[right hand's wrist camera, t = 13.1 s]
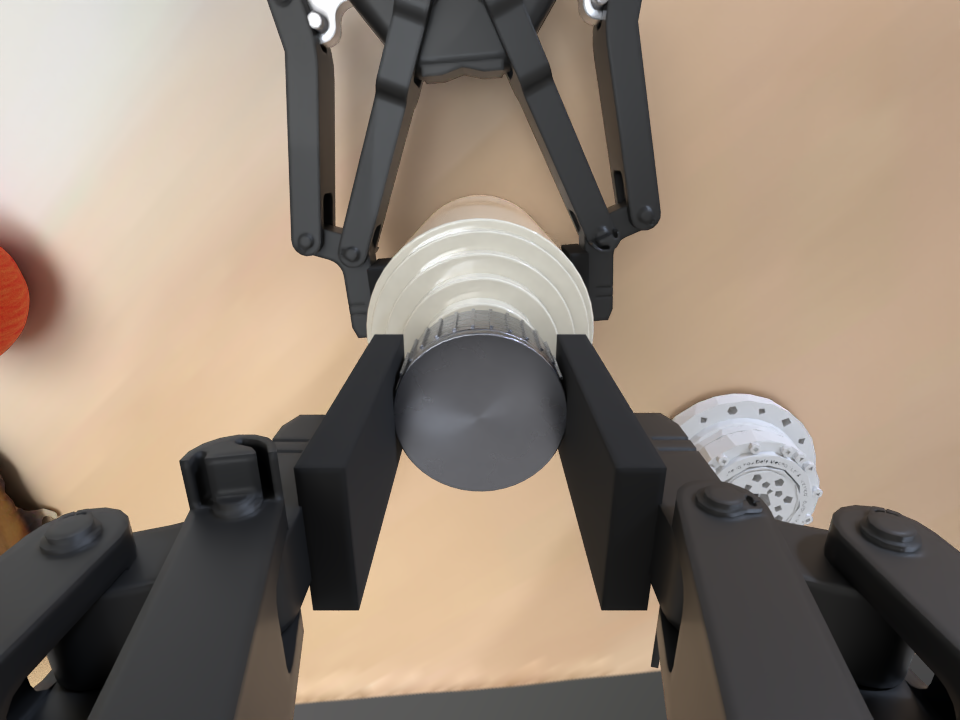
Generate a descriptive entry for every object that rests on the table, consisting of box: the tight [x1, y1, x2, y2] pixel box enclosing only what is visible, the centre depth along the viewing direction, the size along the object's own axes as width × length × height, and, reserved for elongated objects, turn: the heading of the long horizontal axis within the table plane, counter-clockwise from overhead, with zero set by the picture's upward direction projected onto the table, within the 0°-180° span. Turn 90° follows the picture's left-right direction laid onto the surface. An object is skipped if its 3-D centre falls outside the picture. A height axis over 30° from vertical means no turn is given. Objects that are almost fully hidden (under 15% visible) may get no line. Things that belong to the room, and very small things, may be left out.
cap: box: [393, 309, 567, 491], centre depth 13 cm, size 4×4×2 cm
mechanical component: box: [672, 394, 823, 525], centre depth 32 cm, size 10×4×10 cm
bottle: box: [367, 195, 594, 359], centre depth 21 cm, size 8×8×18 cm
